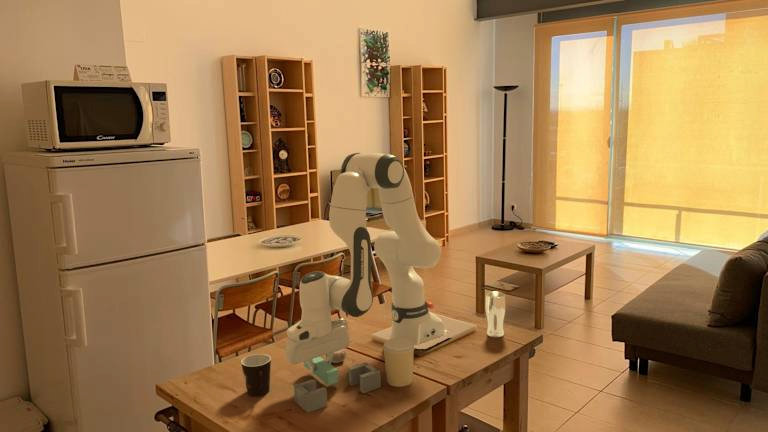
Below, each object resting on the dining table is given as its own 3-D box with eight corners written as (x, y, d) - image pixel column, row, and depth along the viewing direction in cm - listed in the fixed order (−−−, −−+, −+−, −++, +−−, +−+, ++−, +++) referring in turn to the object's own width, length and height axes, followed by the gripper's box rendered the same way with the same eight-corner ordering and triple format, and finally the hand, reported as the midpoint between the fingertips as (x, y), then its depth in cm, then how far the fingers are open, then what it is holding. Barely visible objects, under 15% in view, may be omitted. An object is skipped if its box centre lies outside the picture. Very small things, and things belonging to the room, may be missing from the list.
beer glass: (482, 335, 210) (482, 295, 207) (490, 329, 215) (490, 290, 213) (500, 339, 206) (500, 298, 203) (508, 332, 211) (508, 293, 209)
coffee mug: (247, 384, 179) (245, 354, 177) (276, 384, 178) (273, 353, 176) (237, 404, 167) (234, 371, 165) (267, 403, 167) (264, 370, 165)
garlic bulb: (334, 353, 199) (333, 331, 198) (351, 358, 195) (350, 335, 194) (320, 362, 193) (318, 339, 192) (337, 367, 189) (336, 343, 187)
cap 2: (366, 377, 181) (365, 362, 180) (380, 387, 174) (380, 371, 173) (349, 383, 177) (348, 367, 176) (363, 393, 171) (362, 377, 170)
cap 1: (307, 412, 161) (306, 396, 160) (294, 401, 168) (293, 385, 167) (327, 405, 164) (326, 389, 163) (314, 394, 171) (313, 378, 170)
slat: (304, 366, 184) (303, 354, 184) (313, 363, 186) (312, 351, 185) (328, 385, 171) (327, 373, 170) (338, 382, 173) (337, 369, 172)
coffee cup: (421, 379, 178) (420, 342, 176) (400, 391, 171) (399, 352, 169) (399, 370, 184) (397, 334, 182) (377, 381, 178) (376, 344, 176)
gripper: (341, 314, 184) (344, 355, 187) (281, 331, 173) (285, 374, 176) (352, 320, 179) (355, 362, 181) (290, 338, 168) (294, 382, 170)
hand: (320, 368), depth 178 cm, fingers closed on slat, 3 cm apart
